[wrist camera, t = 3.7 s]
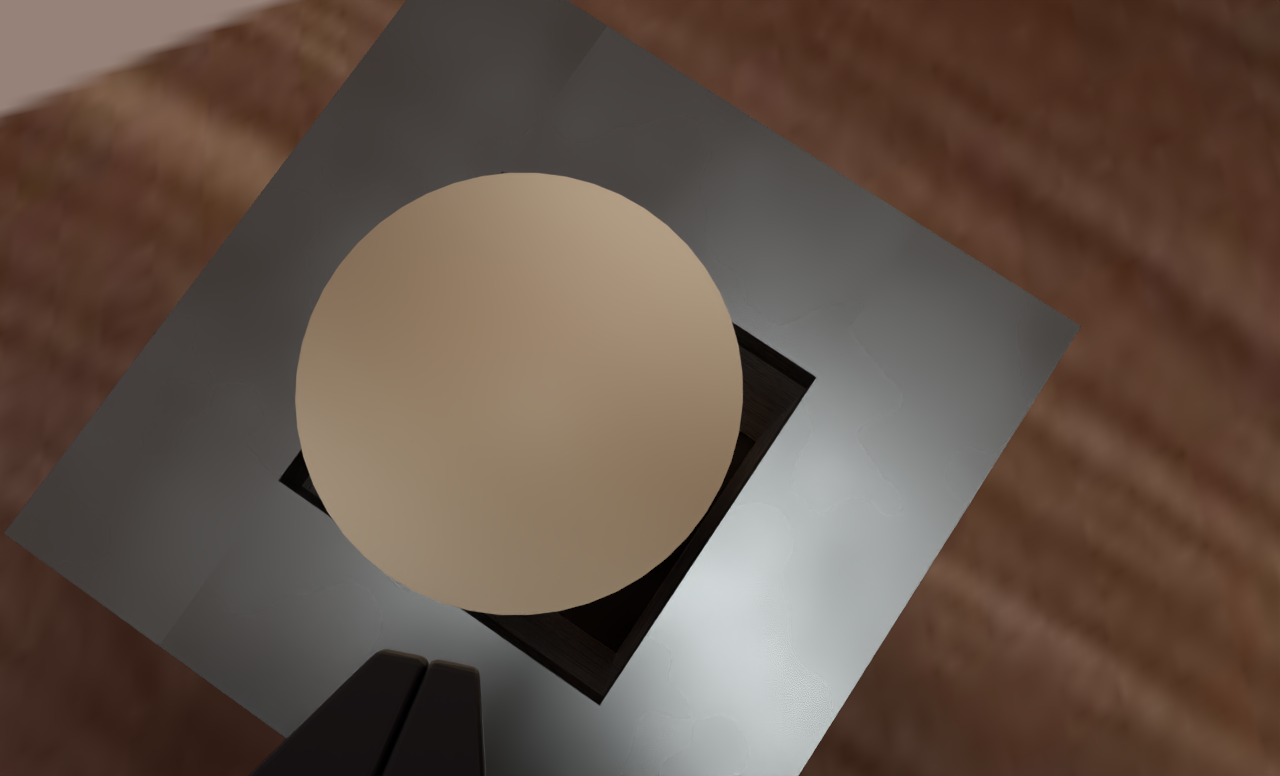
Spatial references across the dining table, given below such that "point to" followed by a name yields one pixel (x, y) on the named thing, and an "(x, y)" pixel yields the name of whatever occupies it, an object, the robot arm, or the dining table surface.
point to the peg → (519, 393)
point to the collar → (733, 529)
